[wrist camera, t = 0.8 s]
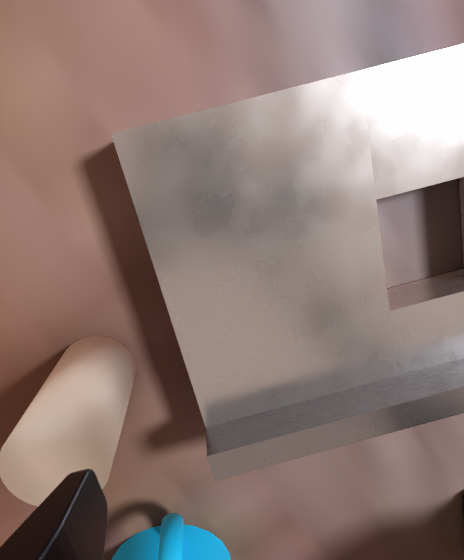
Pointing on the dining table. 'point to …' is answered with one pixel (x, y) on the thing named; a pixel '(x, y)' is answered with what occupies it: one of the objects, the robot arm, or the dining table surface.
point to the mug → (172, 543)
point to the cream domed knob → (71, 420)
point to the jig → (305, 258)
